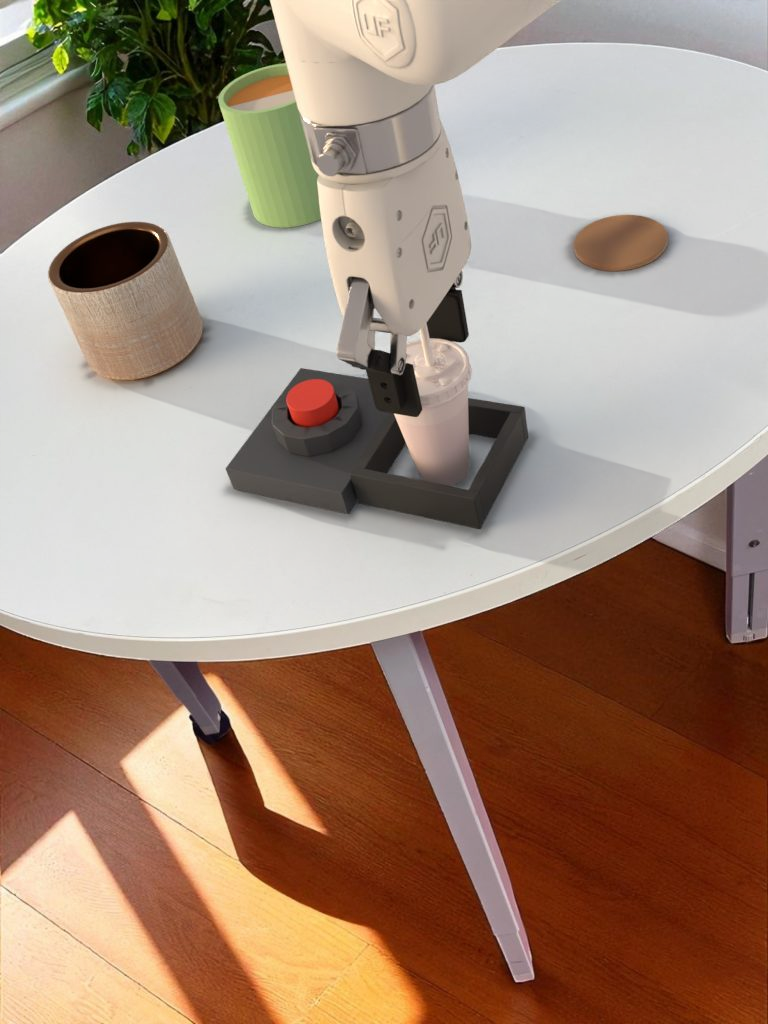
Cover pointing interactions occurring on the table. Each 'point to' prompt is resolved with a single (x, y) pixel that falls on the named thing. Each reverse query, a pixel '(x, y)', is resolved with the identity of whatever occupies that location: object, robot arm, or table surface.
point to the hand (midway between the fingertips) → (423, 372)
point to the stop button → (312, 403)
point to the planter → (126, 300)
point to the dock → (439, 498)
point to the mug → (271, 147)
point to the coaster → (620, 242)
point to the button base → (309, 448)
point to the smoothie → (439, 410)
